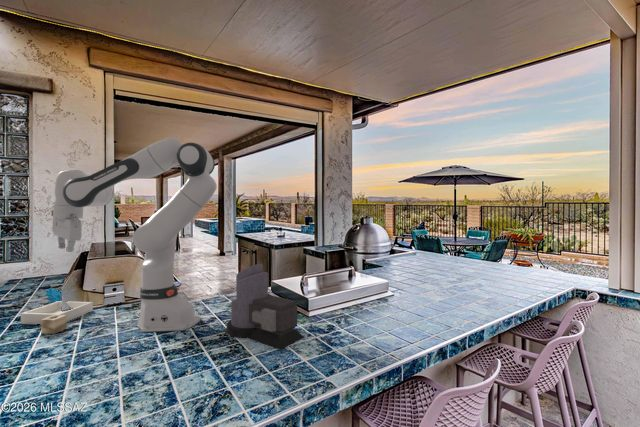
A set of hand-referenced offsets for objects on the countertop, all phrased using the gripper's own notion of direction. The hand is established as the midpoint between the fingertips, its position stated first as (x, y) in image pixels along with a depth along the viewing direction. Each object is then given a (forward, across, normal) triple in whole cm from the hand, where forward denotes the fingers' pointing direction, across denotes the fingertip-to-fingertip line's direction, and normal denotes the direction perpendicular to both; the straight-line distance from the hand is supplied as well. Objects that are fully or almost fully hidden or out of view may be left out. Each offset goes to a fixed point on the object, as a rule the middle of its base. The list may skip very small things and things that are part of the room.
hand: (65, 250), depth 121 cm
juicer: (+23, -65, -41) cm, 80 cm away
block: (+29, -4, +2) cm, 29 cm away
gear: (+30, +35, -8) cm, 47 cm away
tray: (+29, +13, -3) cm, 32 cm away
